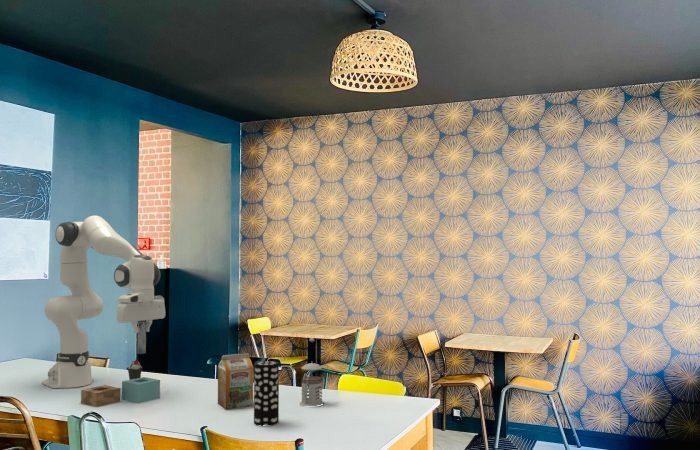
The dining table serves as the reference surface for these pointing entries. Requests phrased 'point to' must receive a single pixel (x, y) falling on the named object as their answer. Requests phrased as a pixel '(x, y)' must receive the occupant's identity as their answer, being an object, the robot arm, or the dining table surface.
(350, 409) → the dining table surface
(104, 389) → the socket
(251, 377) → the milk carton
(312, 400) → the french press
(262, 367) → the spotted tube
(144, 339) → the peg
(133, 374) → the sundae
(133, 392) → the teal storage box
